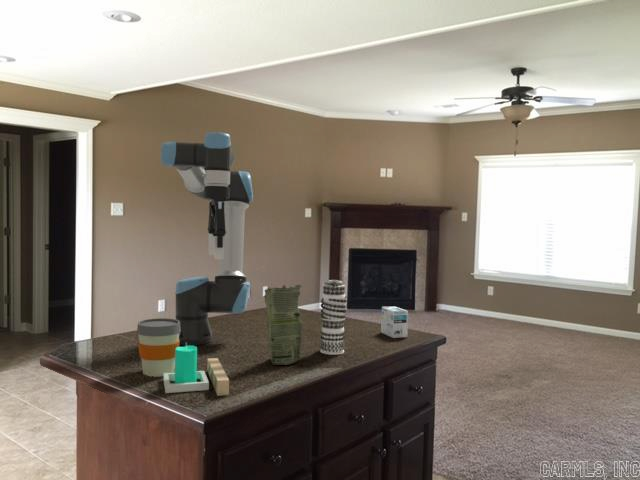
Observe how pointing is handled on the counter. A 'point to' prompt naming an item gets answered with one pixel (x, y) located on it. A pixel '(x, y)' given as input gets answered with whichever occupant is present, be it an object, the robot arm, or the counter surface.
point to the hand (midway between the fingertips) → (215, 257)
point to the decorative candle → (333, 317)
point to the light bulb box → (394, 322)
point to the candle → (186, 364)
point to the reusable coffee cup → (158, 345)
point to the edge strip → (218, 377)
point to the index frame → (185, 386)
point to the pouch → (283, 324)
